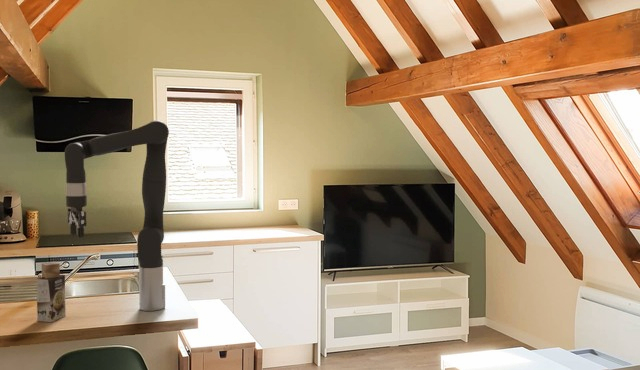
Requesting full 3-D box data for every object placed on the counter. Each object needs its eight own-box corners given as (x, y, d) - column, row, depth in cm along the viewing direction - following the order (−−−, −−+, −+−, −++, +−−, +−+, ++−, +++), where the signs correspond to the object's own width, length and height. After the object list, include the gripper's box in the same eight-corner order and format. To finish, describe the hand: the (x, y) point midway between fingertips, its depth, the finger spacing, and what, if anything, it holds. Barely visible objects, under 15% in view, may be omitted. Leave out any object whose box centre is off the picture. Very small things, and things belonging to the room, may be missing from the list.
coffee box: (52, 322, 241) (51, 279, 240) (36, 321, 242) (35, 278, 241) (66, 315, 250) (65, 274, 249) (51, 314, 251) (50, 273, 250)
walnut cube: (55, 274, 248) (55, 261, 248) (59, 276, 244) (59, 263, 244) (41, 276, 245) (41, 263, 245) (45, 278, 241) (45, 265, 241)
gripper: (92, 195, 248) (93, 237, 250) (79, 192, 260) (80, 232, 261) (72, 196, 244) (73, 239, 245) (60, 193, 255) (61, 234, 256)
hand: (77, 235), depth 253 cm, fingers open, 8 cm apart
